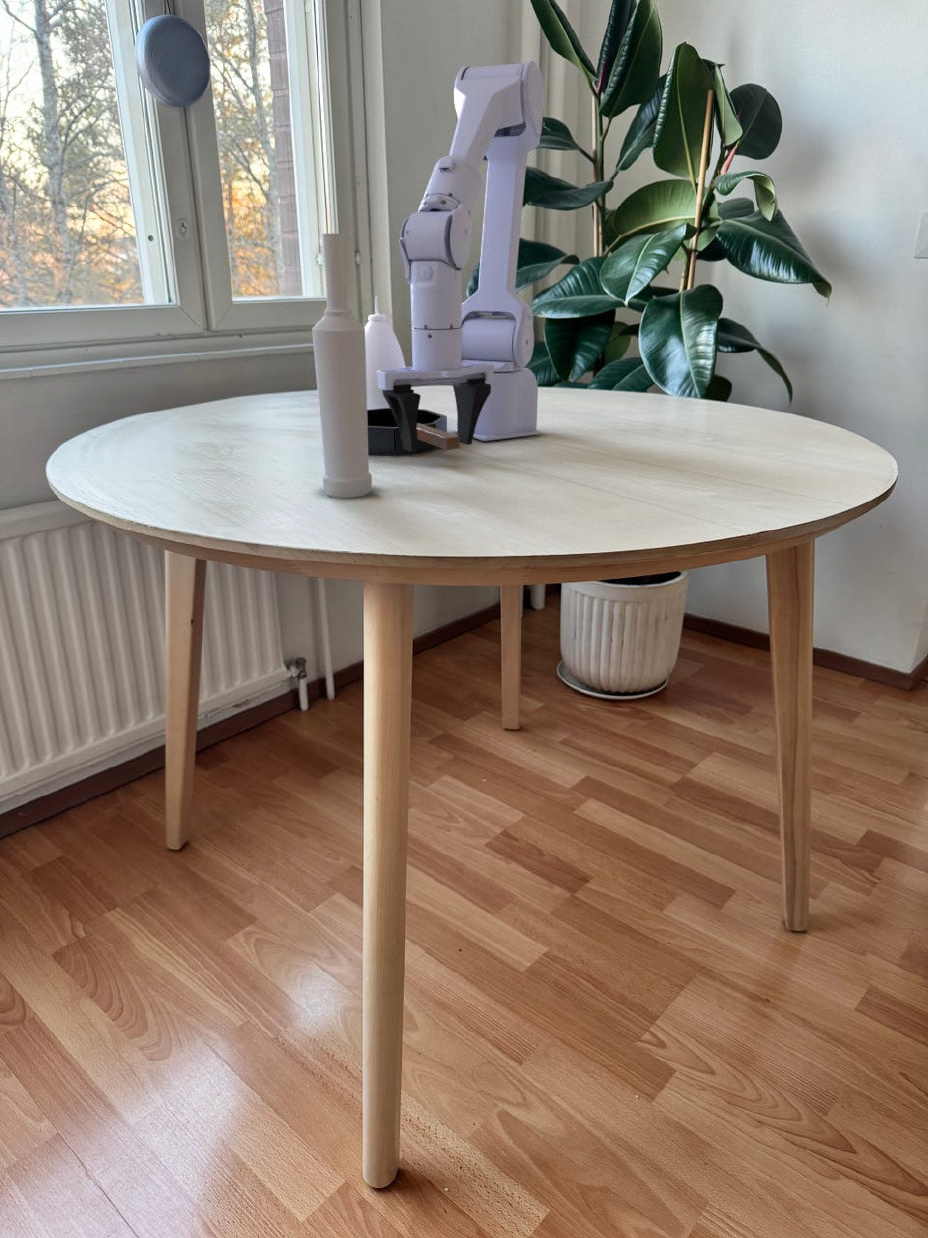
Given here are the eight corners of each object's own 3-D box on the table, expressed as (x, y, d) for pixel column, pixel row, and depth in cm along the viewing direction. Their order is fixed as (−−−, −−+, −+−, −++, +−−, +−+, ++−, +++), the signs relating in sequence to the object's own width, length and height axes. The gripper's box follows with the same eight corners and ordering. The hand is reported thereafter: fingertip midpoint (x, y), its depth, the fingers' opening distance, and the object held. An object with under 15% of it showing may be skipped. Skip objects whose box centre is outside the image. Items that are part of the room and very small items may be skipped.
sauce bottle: (352, 420, 127) (345, 293, 119) (402, 418, 128) (399, 293, 121) (358, 430, 120) (351, 296, 112) (412, 427, 121) (408, 295, 114)
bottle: (325, 486, 91) (307, 234, 81) (372, 485, 91) (361, 234, 81) (321, 499, 86) (302, 232, 76) (372, 497, 86) (359, 233, 76)
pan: (413, 429, 120) (412, 403, 119) (502, 461, 102) (503, 431, 100) (322, 439, 113) (320, 412, 112) (400, 476, 95) (399, 443, 93)
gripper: (395, 333, 88) (399, 459, 94) (508, 327, 95) (506, 445, 101) (367, 328, 94) (372, 448, 99) (476, 323, 101) (475, 435, 106)
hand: (438, 446), depth 100 cm, fingers open, 7 cm apart
